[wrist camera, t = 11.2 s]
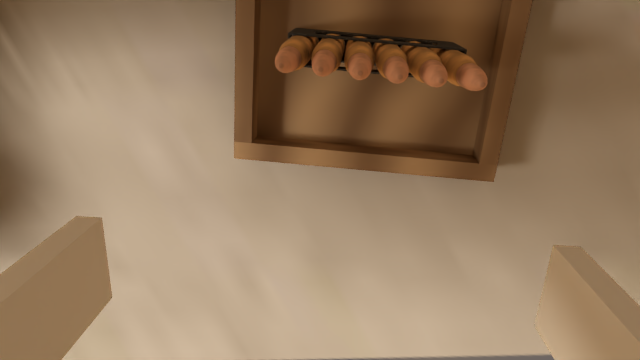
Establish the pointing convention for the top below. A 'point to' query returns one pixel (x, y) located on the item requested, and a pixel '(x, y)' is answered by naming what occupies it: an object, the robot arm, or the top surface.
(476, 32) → the tray
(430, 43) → the ammunition clip
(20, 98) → the top surface
